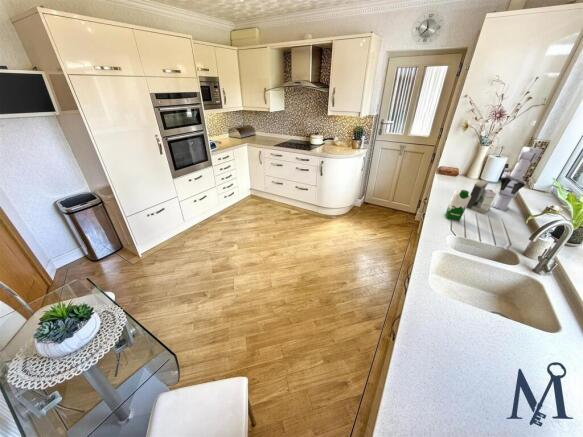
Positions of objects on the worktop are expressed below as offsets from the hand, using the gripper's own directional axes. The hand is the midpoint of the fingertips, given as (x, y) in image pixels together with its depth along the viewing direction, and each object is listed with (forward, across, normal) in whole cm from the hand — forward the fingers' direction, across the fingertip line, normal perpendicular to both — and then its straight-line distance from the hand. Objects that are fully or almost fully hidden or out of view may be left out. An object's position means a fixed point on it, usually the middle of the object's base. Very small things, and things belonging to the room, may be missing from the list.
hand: (507, 191), depth 148 cm
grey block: (+14, +2, +19) cm, 24 cm away
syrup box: (+14, +4, +17) cm, 23 cm away
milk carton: (+26, -23, +3) cm, 35 cm away
